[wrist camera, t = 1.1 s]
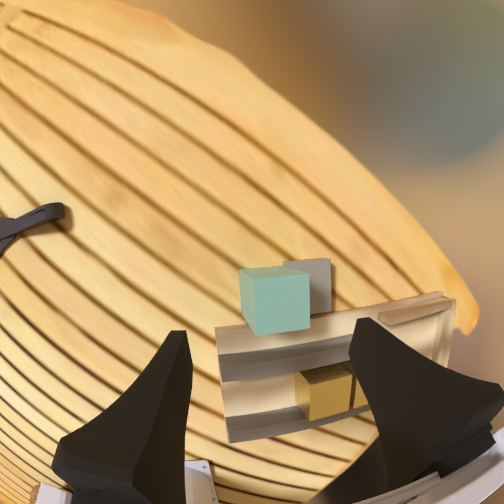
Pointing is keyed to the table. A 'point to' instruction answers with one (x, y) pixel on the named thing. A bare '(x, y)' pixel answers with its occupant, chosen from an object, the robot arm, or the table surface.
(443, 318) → the slot board
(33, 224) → the bracket
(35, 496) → the natural sponge
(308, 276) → the two-tone l-shaped block
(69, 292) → the table surface
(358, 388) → the yellow cube
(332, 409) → the golden brown cube
